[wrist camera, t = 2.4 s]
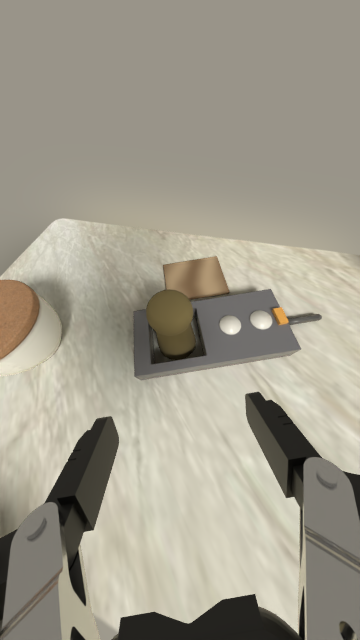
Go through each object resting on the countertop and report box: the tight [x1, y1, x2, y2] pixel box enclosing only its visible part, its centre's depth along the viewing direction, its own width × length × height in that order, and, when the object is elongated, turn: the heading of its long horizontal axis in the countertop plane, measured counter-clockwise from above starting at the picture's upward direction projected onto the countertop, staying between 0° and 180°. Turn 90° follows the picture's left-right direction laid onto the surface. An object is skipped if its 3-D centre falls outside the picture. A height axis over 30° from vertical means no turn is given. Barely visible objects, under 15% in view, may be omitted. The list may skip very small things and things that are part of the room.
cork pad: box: [163, 256, 229, 300], centre depth 32 cm, size 11×9×1 cm
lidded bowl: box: [0, 280, 62, 376], centre depth 24 cm, size 13×13×11 cm
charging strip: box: [134, 289, 322, 380], centre depth 25 cm, size 29×10×4 cm, turn 98°
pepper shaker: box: [146, 289, 196, 360], centre depth 22 cm, size 6×6×11 cm
